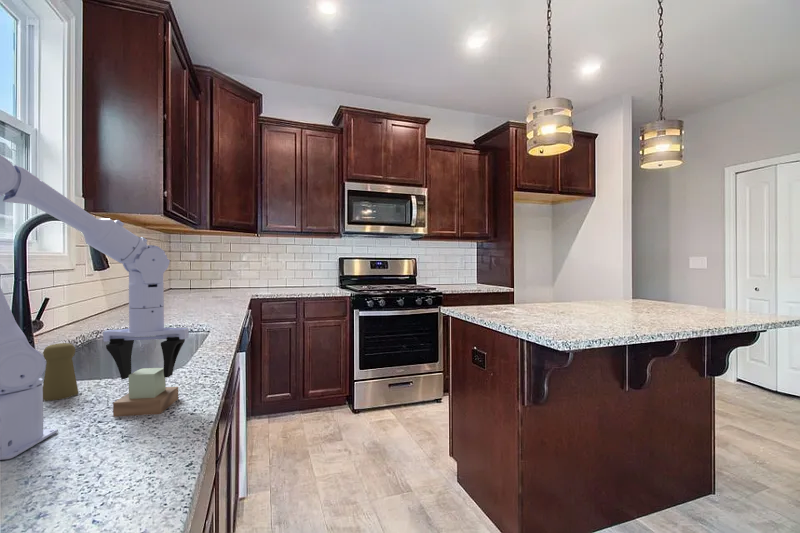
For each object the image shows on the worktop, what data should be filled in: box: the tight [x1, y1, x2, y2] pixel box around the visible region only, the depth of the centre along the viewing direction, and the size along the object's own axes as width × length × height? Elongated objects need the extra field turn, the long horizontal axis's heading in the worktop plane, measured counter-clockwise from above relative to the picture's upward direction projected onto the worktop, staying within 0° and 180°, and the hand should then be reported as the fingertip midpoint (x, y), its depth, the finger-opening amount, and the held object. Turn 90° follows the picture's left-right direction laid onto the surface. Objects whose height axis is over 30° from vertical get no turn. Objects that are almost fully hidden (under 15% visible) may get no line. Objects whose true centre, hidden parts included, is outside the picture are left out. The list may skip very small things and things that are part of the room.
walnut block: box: [112, 386, 179, 417], centre depth 76 cm, size 8×8×3 cm
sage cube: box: [128, 367, 166, 399], centre depth 76 cm, size 4×4×4 cm
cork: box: [42, 342, 79, 402], centre depth 83 cm, size 6×6×11 cm
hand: (147, 376), depth 76 cm, fingers open, 7 cm apart
